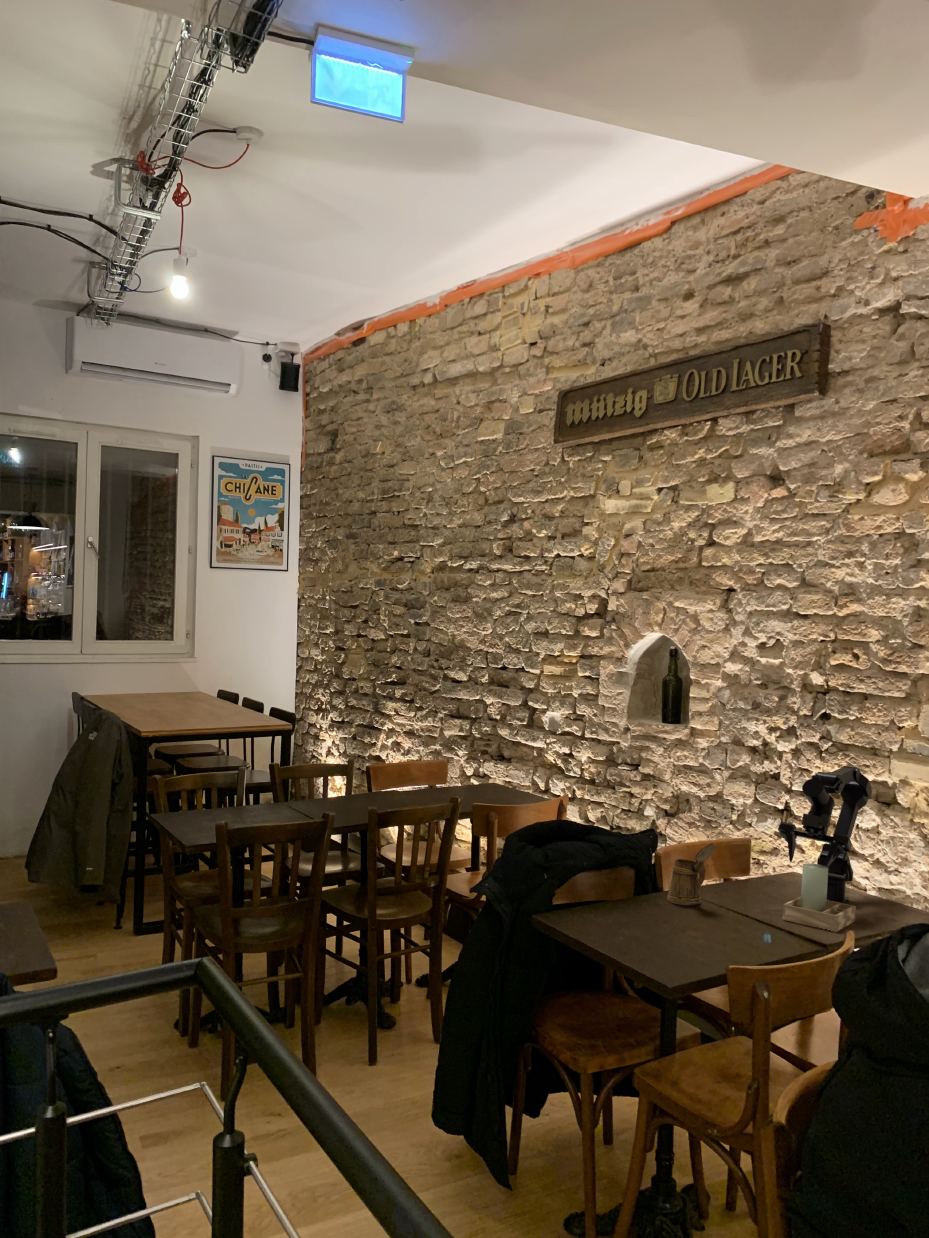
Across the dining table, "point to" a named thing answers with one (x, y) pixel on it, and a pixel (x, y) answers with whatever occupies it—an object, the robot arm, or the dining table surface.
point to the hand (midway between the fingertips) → (807, 865)
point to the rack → (820, 915)
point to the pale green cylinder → (814, 887)
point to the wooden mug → (689, 878)
